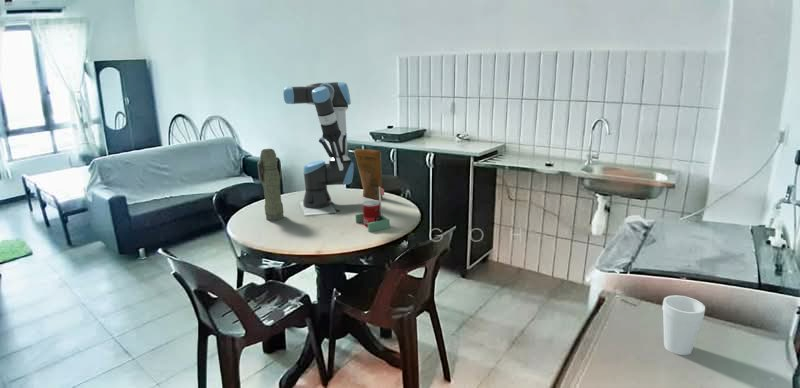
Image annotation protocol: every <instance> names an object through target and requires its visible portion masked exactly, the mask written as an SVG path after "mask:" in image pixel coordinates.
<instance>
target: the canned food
mask: <svg viewBox="0 0 800 388" xmlns="http://www.w3.org/2000/svg"><path fill="white" fill-rule="evenodd" d="M362 213H363V217H364V222H363V226H365V228H368V223H371V222H376V221H380V203H379V201H378V200H366V201H363V202H362Z"/></svg>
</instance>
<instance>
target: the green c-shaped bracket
mask: <svg viewBox="0 0 800 388" xmlns="http://www.w3.org/2000/svg"><path fill="white" fill-rule="evenodd" d="M381 194H382V196H385V189H384V188H380V187H379V201H378V202H379V203H380V221H376V222H371V223H368V227H367V232H368V233H372V232H377V231H380V230H385V229H390V228H391V225H390V218H387V217H386V216H385V215H383V214H382V213H383V212H382V199H381ZM362 222H363V223H364V217H363V212H361V213H355V223H356V224H358V223H362Z"/></svg>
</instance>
